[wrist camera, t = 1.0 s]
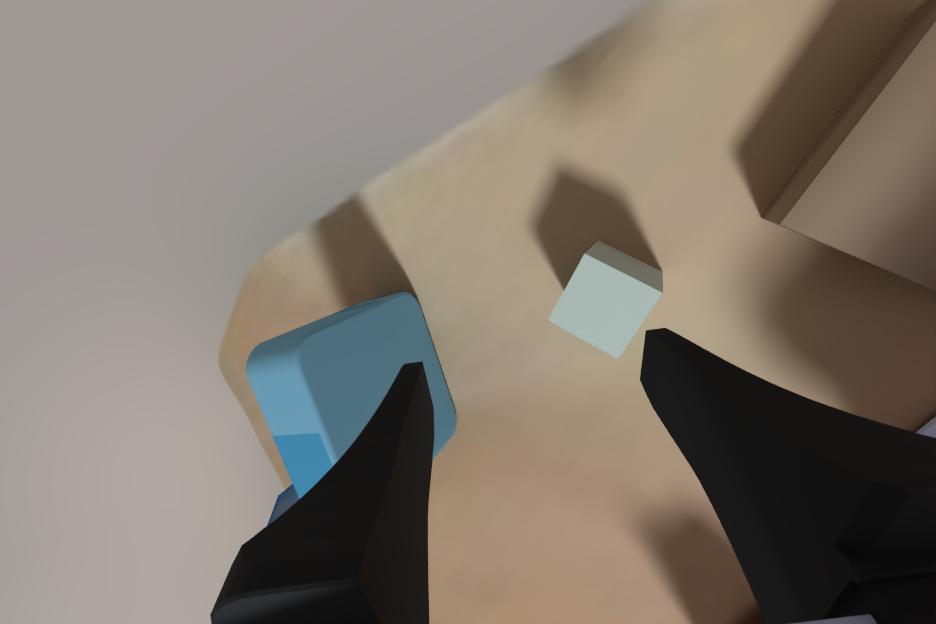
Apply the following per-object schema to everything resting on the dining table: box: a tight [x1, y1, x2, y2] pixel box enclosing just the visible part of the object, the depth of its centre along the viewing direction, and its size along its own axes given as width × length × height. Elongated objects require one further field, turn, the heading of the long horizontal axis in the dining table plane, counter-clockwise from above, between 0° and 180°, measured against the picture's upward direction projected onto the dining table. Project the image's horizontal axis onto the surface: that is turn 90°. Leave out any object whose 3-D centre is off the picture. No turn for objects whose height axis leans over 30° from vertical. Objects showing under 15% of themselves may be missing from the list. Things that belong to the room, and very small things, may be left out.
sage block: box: [548, 240, 663, 359], centre depth 22 cm, size 4×4×5 cm
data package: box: [246, 292, 456, 499], centre depth 27 cm, size 12×4×12 cm, turn 20°
